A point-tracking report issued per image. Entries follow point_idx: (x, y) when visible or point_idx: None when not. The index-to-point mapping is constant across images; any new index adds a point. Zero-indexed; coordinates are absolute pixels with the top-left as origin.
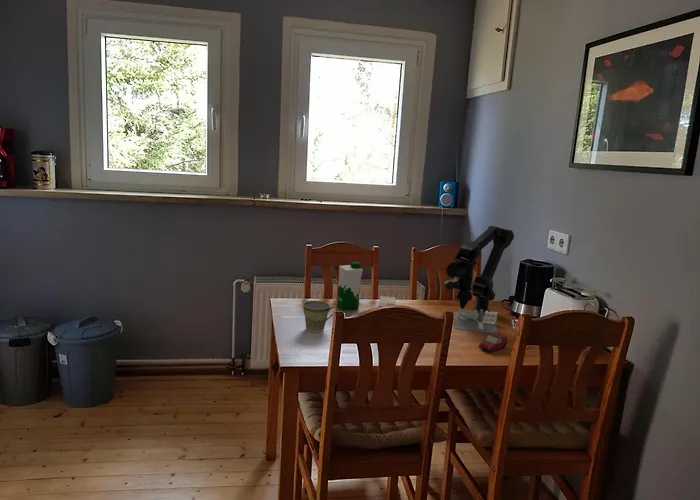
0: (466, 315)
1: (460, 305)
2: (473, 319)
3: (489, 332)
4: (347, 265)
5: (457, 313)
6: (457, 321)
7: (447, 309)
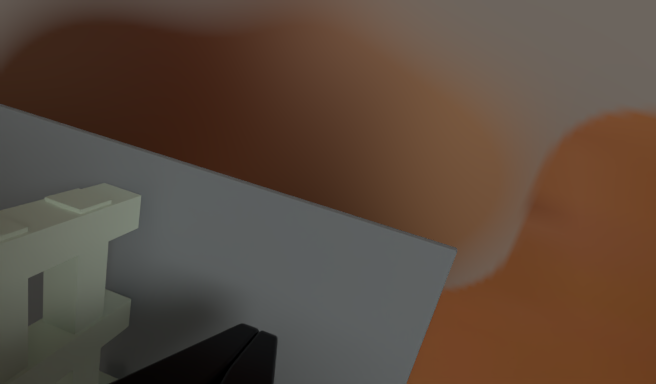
0: (45, 317)
1: (150, 371)
2: (111, 377)
3: None
4: None
5: (367, 265)
6: (19, 144)
7: (643, 153)
